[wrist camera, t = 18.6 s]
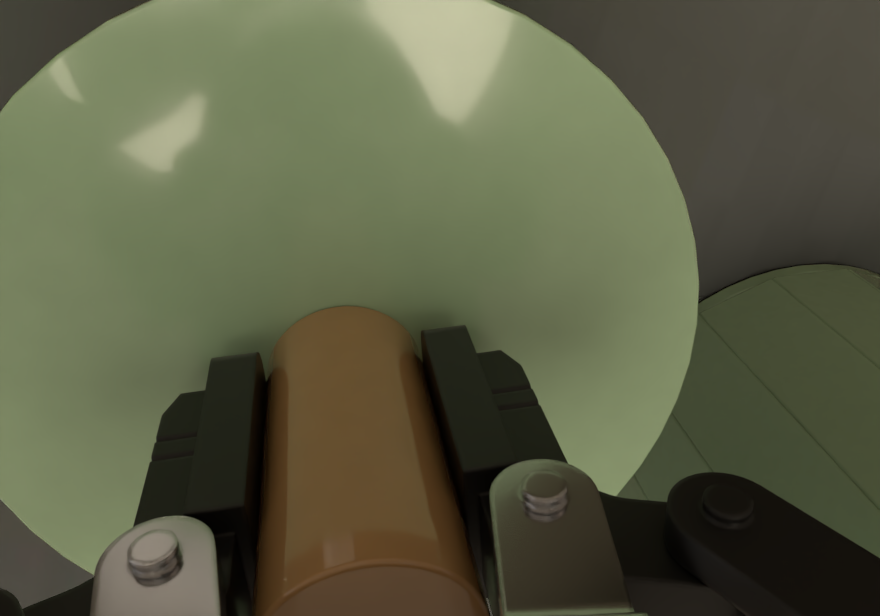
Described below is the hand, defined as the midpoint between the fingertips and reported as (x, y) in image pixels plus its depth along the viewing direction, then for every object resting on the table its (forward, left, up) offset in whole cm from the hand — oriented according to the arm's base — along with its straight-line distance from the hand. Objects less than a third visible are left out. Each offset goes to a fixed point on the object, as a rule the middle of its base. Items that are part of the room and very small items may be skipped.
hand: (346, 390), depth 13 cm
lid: (0, 0, -1) cm, 1 cm away
